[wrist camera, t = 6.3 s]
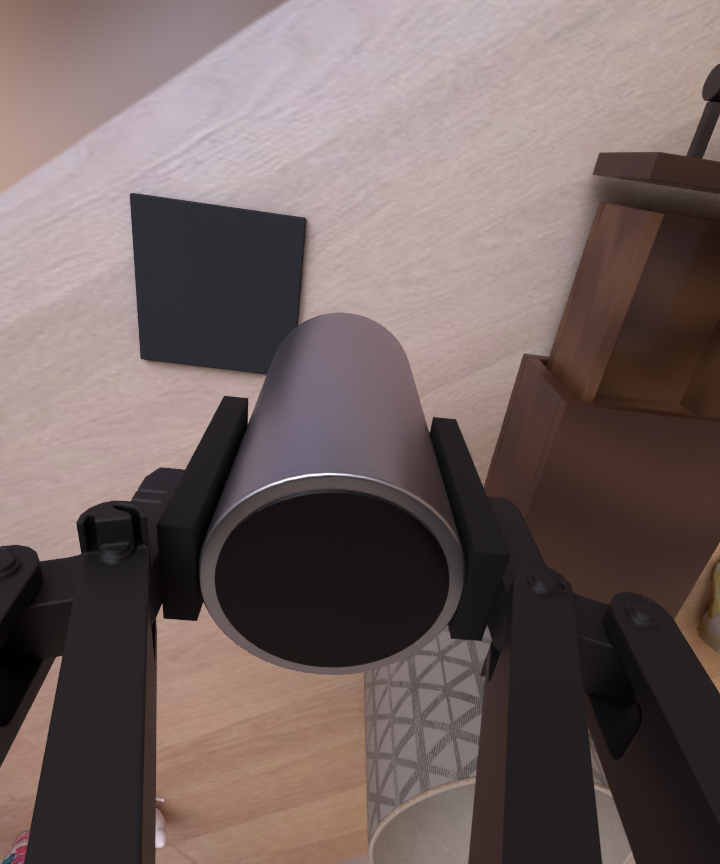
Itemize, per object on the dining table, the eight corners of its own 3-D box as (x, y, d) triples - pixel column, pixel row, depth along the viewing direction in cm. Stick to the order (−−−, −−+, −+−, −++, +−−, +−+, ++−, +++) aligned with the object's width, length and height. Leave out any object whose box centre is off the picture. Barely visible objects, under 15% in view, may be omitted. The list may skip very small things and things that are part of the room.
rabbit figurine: (127, 810, 67) (122, 813, 60) (154, 784, 69) (152, 784, 63) (155, 851, 65) (153, 858, 59) (182, 822, 68) (183, 826, 61)
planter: (352, 693, 56) (352, 908, 40) (377, 560, 47) (390, 767, 31) (522, 705, 58) (587, 917, 42) (577, 578, 49) (688, 785, 33)
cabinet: (523, 353, 38) (567, 403, 30) (700, 375, 39) (785, 430, 31) (470, 532, 46) (493, 609, 38) (618, 547, 47) (671, 625, 39)
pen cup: (273, 304, 21) (191, 462, 10) (422, 321, 21) (497, 490, 10) (267, 436, 23) (198, 670, 13) (399, 448, 24) (439, 686, 13)
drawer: (625, 66, 29) (697, 43, 23) (832, 102, 30) (953, 89, 24) (525, 389, 38) (558, 433, 32) (686, 408, 39) (746, 455, 33)
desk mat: (132, 192, 33) (129, 193, 32) (306, 217, 34) (305, 218, 33) (142, 356, 38) (140, 359, 37) (293, 375, 39) (292, 377, 38)
